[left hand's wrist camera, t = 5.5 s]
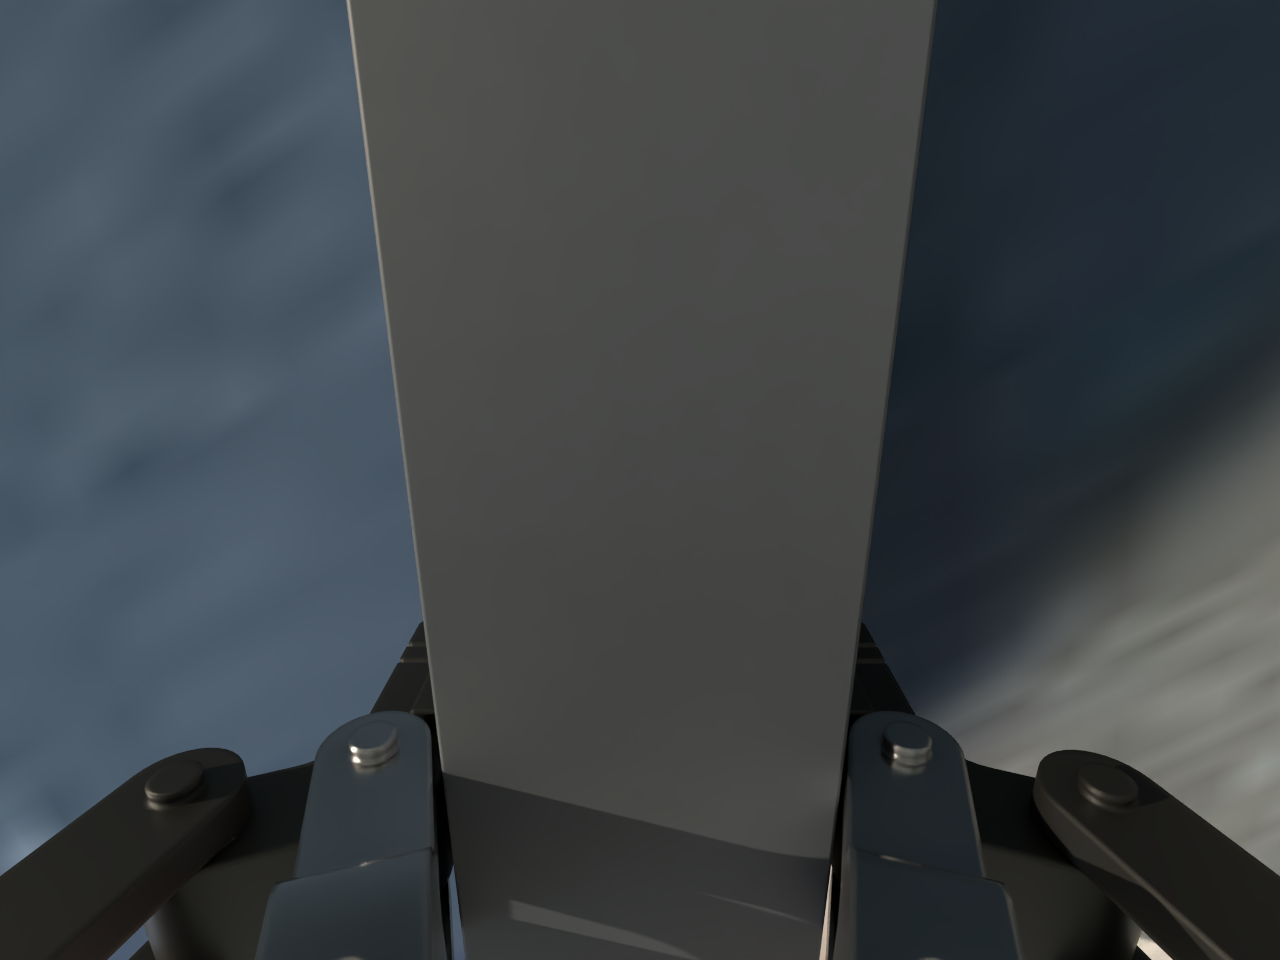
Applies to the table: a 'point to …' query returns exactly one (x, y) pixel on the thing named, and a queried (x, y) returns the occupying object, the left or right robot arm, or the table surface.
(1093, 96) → the table surface
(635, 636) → the bar
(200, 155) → the table surface
